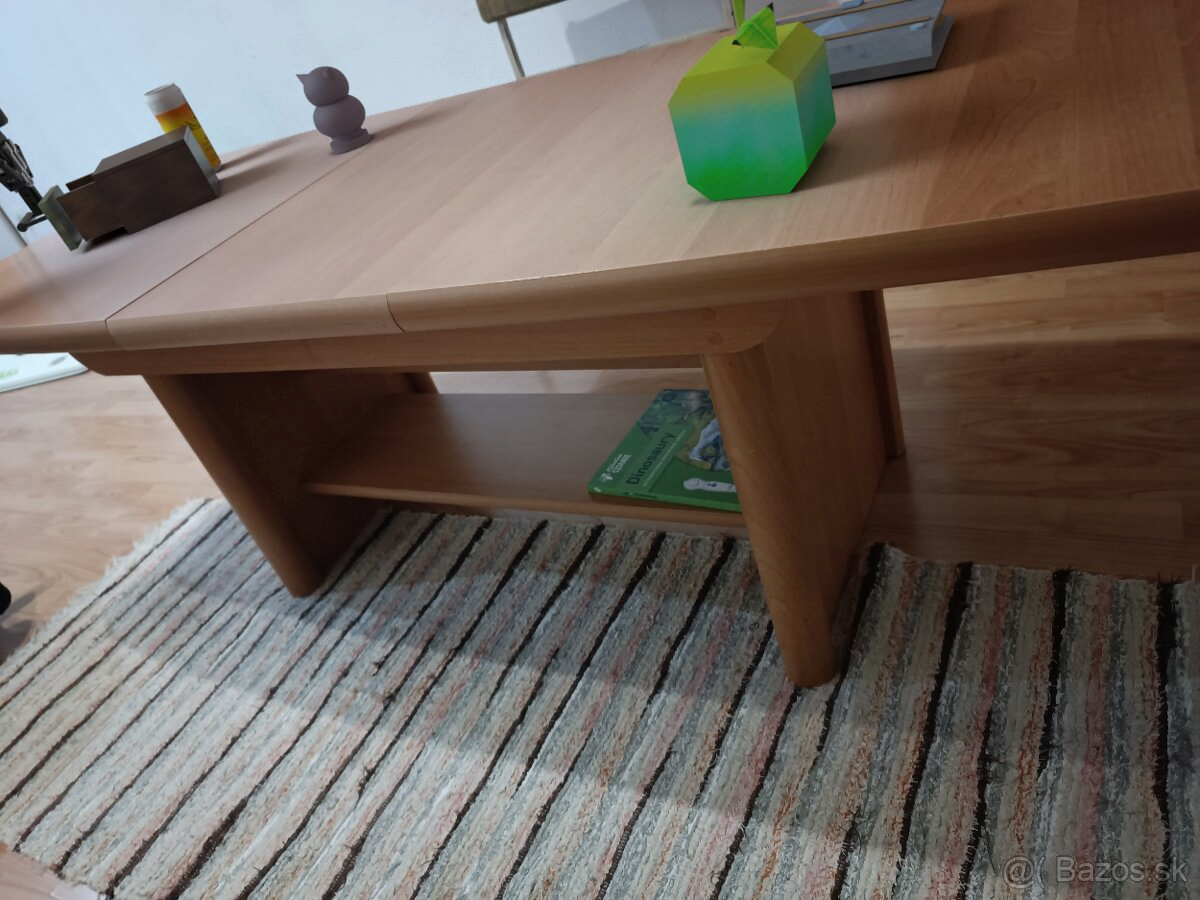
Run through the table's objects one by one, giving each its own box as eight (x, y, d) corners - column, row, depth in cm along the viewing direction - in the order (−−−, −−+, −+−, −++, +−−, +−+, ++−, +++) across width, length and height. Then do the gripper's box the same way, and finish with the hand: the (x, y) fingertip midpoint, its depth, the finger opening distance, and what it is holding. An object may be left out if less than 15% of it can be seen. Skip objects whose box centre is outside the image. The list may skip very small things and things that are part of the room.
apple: (692, 203, 78) (648, 28, 69) (727, 157, 84) (691, -9, 76) (810, 190, 72) (779, -1, 64) (839, 142, 79) (814, -38, 70)
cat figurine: (386, 131, 138) (352, 53, 131) (356, 152, 133) (319, 72, 126) (349, 137, 143) (314, 63, 136) (318, 158, 138) (280, 81, 131)
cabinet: (129, 234, 135) (90, 176, 130) (136, 214, 146) (101, 159, 140) (217, 197, 137) (183, 138, 132) (219, 180, 148) (187, 124, 142)
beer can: (226, 168, 153) (177, 82, 145) (193, 182, 152) (142, 97, 143) (221, 163, 158) (174, 80, 150) (189, 177, 157) (140, 94, 148)
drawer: (37, 265, 134) (3, 218, 129) (50, 244, 143) (18, 200, 139) (153, 216, 136) (123, 169, 132) (159, 199, 145) (131, 154, 141)
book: (730, 110, 95) (720, 63, 92) (770, 58, 106) (763, 15, 103) (933, 76, 85) (929, 22, 82) (954, 22, 96) (952, -27, 93)
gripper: (-52, 104, 130) (26, 210, 140) (-77, 118, 120) (9, 232, 130) (-3, 84, 131) (71, 191, 141) (-24, 97, 121) (58, 212, 131)
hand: (41, 211), depth 135 cm, fingers closed
